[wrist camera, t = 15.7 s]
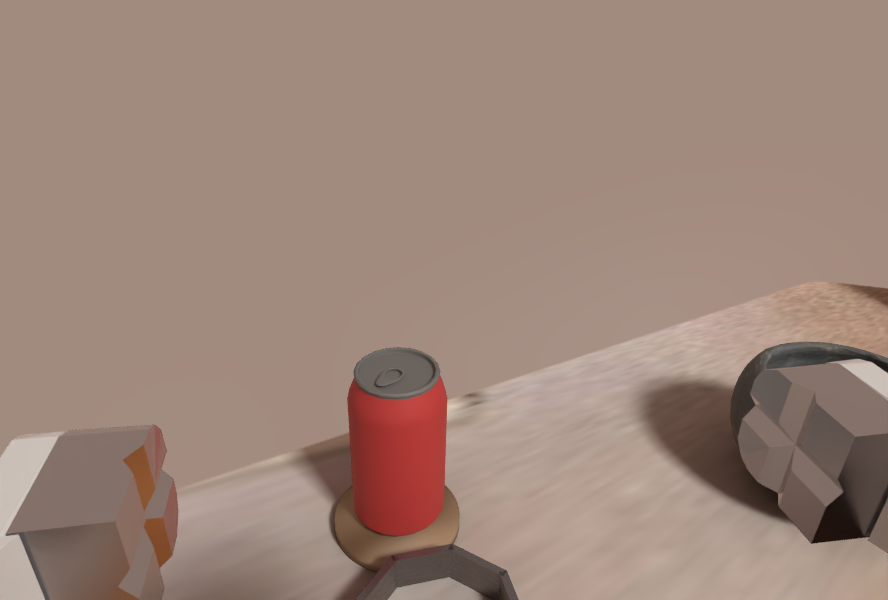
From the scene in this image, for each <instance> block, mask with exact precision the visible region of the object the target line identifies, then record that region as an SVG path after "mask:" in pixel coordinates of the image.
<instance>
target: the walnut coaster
mask: <svg viewBox="0 0 888 600" xmlns="http://www.w3.org/2000/svg"><path fill="white" fill-rule="evenodd" d="M459 516H460V514H459V507H458V503H457V501H456V499H455V497H454V495H453V494H452V492H451V491H450V490H449V489H448V488H447V487H446V486H444V502H443V508H442V511H441V512H440V514H439V515H438V517H437V519H436V520H435V521H434V522H433V523H432V524H430V525H429V526H428V527H427V528H425V529H423V530H421V531H419V532H416V533H414V534H411V535H404V536H391V535H383V534H381V533H378V532H376V531H374V530H371V529H370V528H368V527H367V526H366V525H365V524H364V523H363V522H361V521H360V519H359V517H358V515H357V514H356V512H355V510H354V497H353V485H352V486H351V487H350V488H349V489H348V490H347V491H346V492H345V493H344V494H343V496H342V497H341V499H340V501H339V503H338V505H337V508H336V511H335V517H334V519H335V533H336V538H337V540H338V543H339V545H340V547H341V548H342V550H343V551H344V553H345V554H346V555H347V556H348V557H349V558H350V559H352V560H353V561H354V562H356V563H357V564H359V565H361V566H363V567H365V568H367V569H370V570H373V571H377V572H378V571H379V570H380V569H381V567H382V566H383V565H384V564H385V563H386V561H387V560H388V559H389V558H390V556H391V555H395V554H400V553H405V552H411V551H416V550H421V549H426V548H432V547H437V546H442V545H447V544H453V543H454V542H455V539H456V537H457V534H458V530H459Z"/></svg>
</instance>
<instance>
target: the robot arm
mask: <svg viewBox="0 0 888 600" xmlns="http://www.w3.org/2000/svg"><path fill="white" fill-rule="evenodd" d="M750 395H751V397H752V399H753V401H754V403H755V405H756V406H755V407H754V408H753V409H752V410H751V411H750V412H749V413H748V414H747V415H746V416H745V417H744V418H743V419H742V423H741V427H740V431H739V435H738V442H739V448H740V455H741V458H742V460H743V462H744V464H745V466H746V468H747V470H748V471H749V472H750V473H751V475H752V476H753V477H754V478H755V479H756V481H757V482H758V483H760V484H762V485H763V486H765V487H767V488H769V489H771V490H773V491H775V492H777V493H778V505H779V507H780V509H781V510H782V511H783V512H784V513H785V514H786V515H787V517H788V518H789V519H790V520H791V521H792V522H793V523H794V525H795V526H796V527H797V528H798V529H799V530H800V531H801V533H802V534H803V535H804V536H805V537H806V538H807V539H808V541H809V542H810V543H811V544H813V543H822V542H830V541H839V540H848V539H857V538H866V537H869V539H868V541H870V542H871V543H873V544H874V545H876V546H878V547H879V548H881V549H882V550H884V551H886V552H887V553H888V373H887V372H885V371H884V370H882V369H881V368H879V367H878V366H877V365H875V364H874V363H872V362H869V361H865V360H861V359H852V360H844V361H835V362H827V363H825V364H819V365H809V366H798V367H788V368H777V369H767V370H762V372H761V373H760V374H759V375H758V376H757V377H756V378H755V380H754V383H753V386H752V389H751V393H750ZM166 452H167V450H166V446H165V442H164V439H163V435H162V432H161V429H160V428H158V427H157V426H156V425H142V426H127V427H113V428H100V429H84V430H71V431H67V432H63V431H60V432H48V433H36V434H24V435H21V436H19V437H17V438H15V439H13V440H12V441H11V442H10V443H9V444H8V446H7V447H6V449H5V450H4V452H3V453H2V455H1V456H0V600H161V599H162V595H163V591H164V584H163V580H162V576H161V572H160V569H159V568H160V567H161V566H162V565H163V564H164V563H165V562H166V561H167V560H168V559H169V558H171V557H172V555H173V550H174V546H175V541H176V537H177V525H178V502H177V493H176V488H175V484H174V479H173V478H172V477H171V476H169V475H168V474H166V473H165V472H164V471H163V470H161V469H162V465H163V462H164V459H165V455H166Z"/></svg>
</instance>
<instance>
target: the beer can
mask: <svg viewBox="0 0 888 600" xmlns="http://www.w3.org/2000/svg"><path fill="white" fill-rule="evenodd" d="M347 399H348V413H349V414H348V415H349V429H350V430H349V432H350V448H351V465H352V481H353V497H354V510H355V512H356V514H357V515H358V517H359V519H360V521H361V522H363V523H364V524H365V525H366V526H367V527H368V528H370V529H371V530H374V531H376V532H378V533H381V534H383V535H391V536H404V535H411V534H414V533H416V532H419V531H421V530H423V529H425V528H427V527H428V526H429V525H430V524H432V523H433V522H434V521H435V520H436V519H437V517H438V515H439V514H440V512H441V511H442V508H443V502H444V486H445V453H446V421H447V395H446V391H445V387H444V384H443V381H442V379H441V376H440V369H439V366H438V363H437V362H436V361H435V360H434V359H433V358H432V357H431V356H429V355H427V354H425V353H423V352H421V351H418V350H415V349H411V348H400V347H396V348H386V349H382V350H378V351H374V352H372V353H370V354H368V355H367V356H365V357H364V358H362V359H361V360H360V361H359V362H358V363H357V365H356V367H355V369H354V379H353V381H352V384H351V386H350V389H349V393H348V398H347Z"/></svg>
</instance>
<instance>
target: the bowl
mask: <svg viewBox="0 0 888 600" xmlns="http://www.w3.org/2000/svg"><path fill="white" fill-rule="evenodd" d="M852 359H861V360H865V361H869V362H872V363H874V364H875V365H877V366H878V367H879V368H881V369H882V370H884V371H885V372H887V373H888V358H885V357H883V356H880V355H877V354H874V353H871V352H868V351H865V350H861V349H857V348H854V347H849V346H843V345H838V344H832V343H822V342H793V343H786V344H780V345H777V346H774V347H771V348H768V349H765V350H764V351H763V352H761V353H760V354H758V355H757V356H756V357H755V358H754V359H752V360H751V361H750V362H749V363H748V364H747V366H746V367H745V368H744V370H743V372H742V373H741V375H740V376H739V378H738V381H737V383H736V385H735V389H734V392H733V396H732V401H731V416H730V417H731V425H732V430H733V434H734V437H735V440H736V442H737V445H738V447H739V442H738V435H739V431H740V427H741V423H742V419H743V418H744V417H745V416H746V415H747V414H748V413H749V412H750V411H751V410H752V409H753V408H754V407H755V406H756V405H755V403H754V401H753V399H752V397H751V395H750V393H751V389H752V386H753V383H754V380H755V378H756V377H757V376H758V375H759V374H760V373H761V372H762V370H767V369H777V368H788V367H798V366H809V365H819V364H825V363H827V362H835V361H844V360H852ZM739 450H740V448H739Z"/></svg>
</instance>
